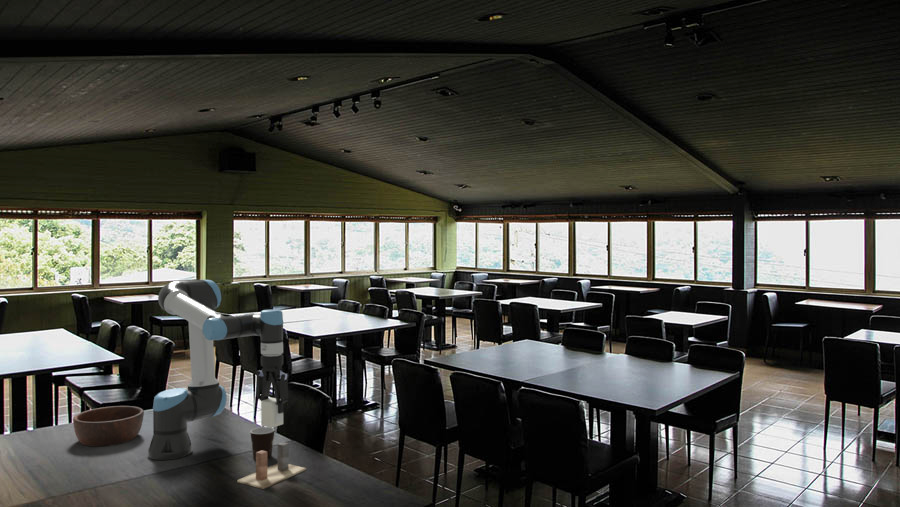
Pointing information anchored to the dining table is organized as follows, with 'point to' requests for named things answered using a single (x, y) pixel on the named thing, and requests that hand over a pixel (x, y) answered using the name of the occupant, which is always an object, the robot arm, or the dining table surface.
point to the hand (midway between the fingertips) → (272, 421)
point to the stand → (271, 469)
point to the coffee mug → (262, 440)
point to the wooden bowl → (108, 425)
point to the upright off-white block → (269, 413)
